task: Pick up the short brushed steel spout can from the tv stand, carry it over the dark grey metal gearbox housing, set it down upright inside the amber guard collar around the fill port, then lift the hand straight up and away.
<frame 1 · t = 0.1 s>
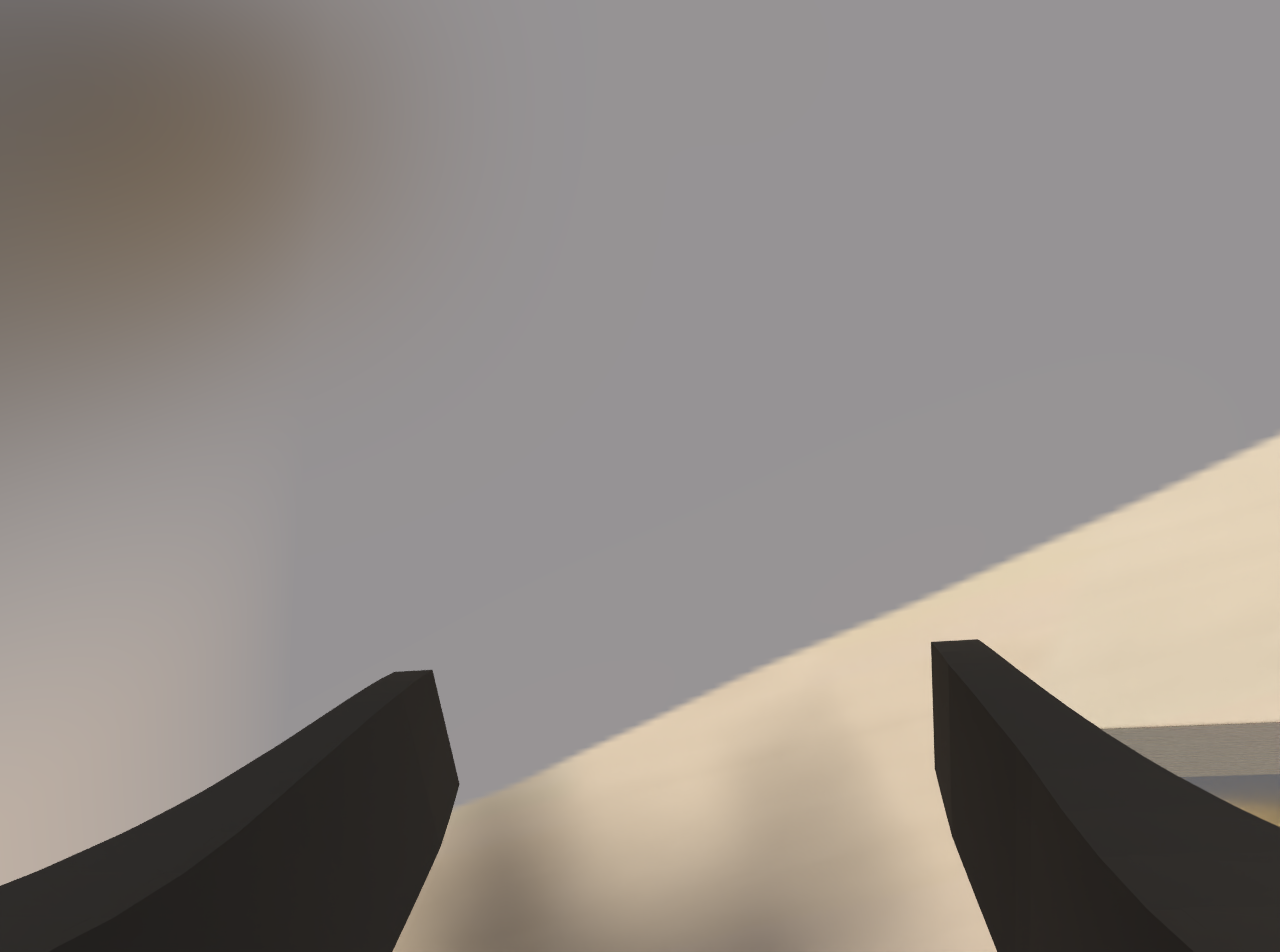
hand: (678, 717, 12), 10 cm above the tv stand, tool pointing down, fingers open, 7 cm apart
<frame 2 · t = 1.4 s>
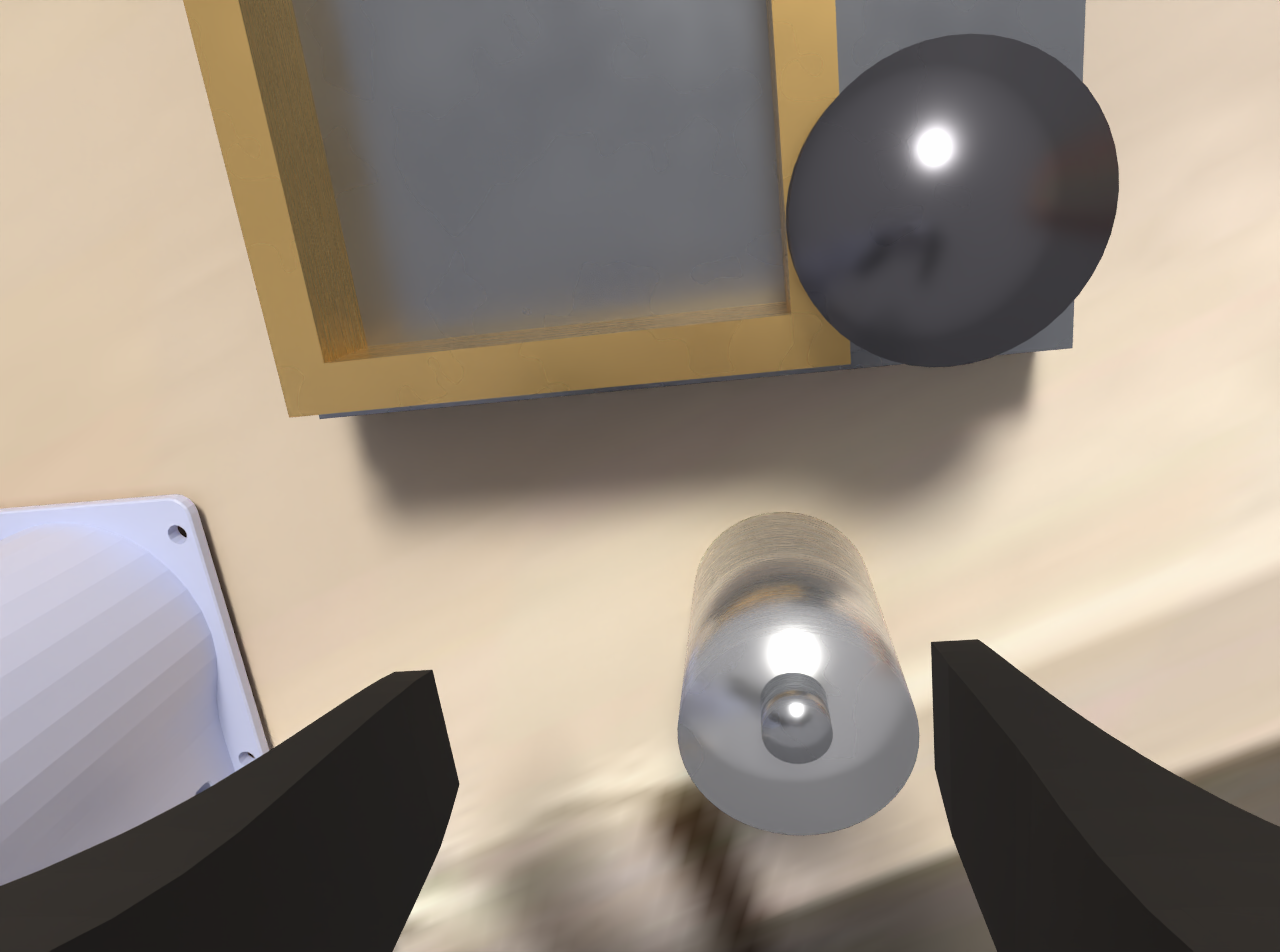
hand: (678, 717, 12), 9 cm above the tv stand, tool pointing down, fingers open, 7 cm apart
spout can: (781, 593, 21), on the tv stand
gearbox: (642, 38, 17), on the tv stand
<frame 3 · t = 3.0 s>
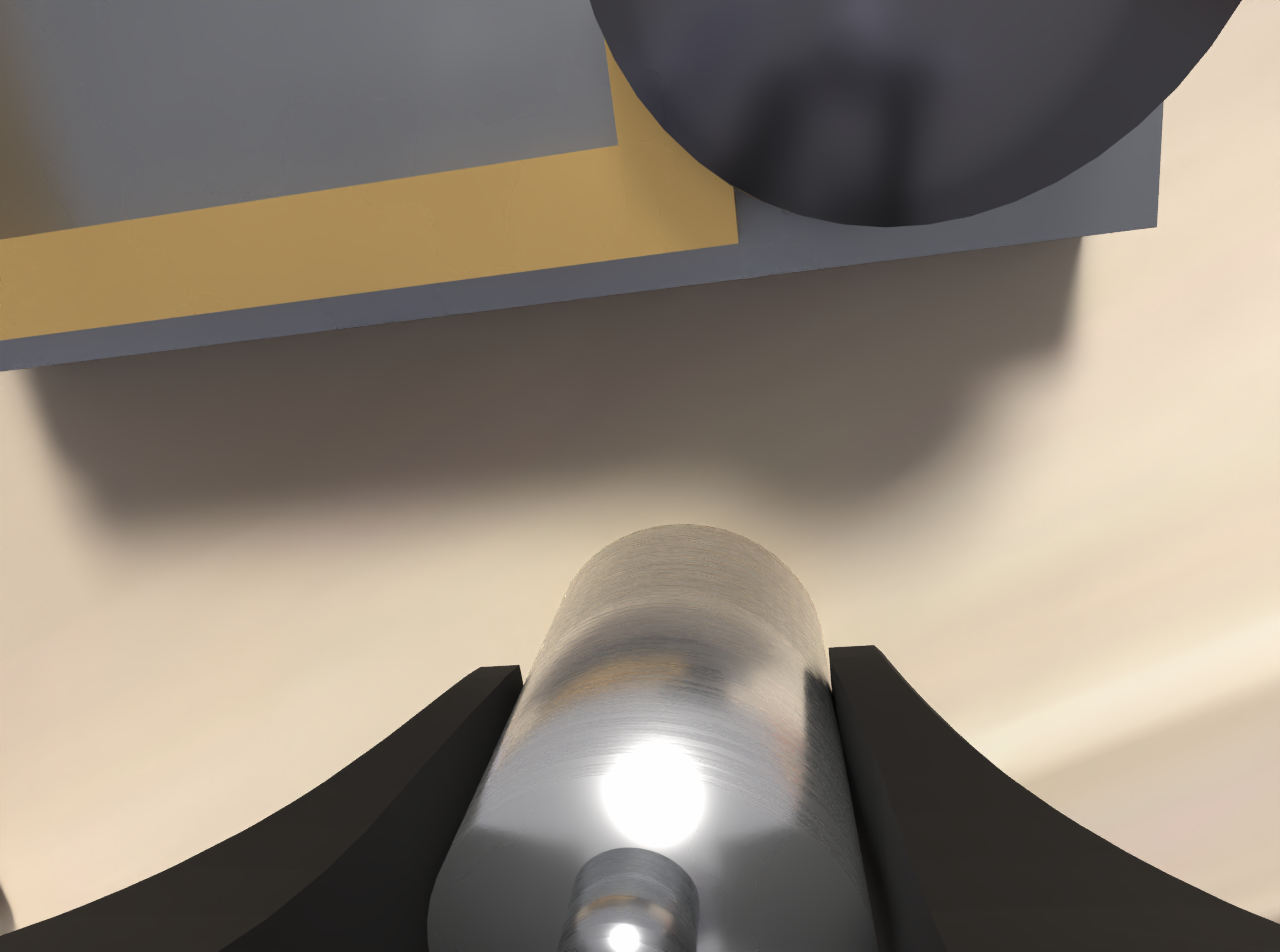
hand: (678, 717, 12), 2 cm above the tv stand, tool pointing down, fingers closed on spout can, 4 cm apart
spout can: (686, 648, 14), on the tv stand, touching gripper
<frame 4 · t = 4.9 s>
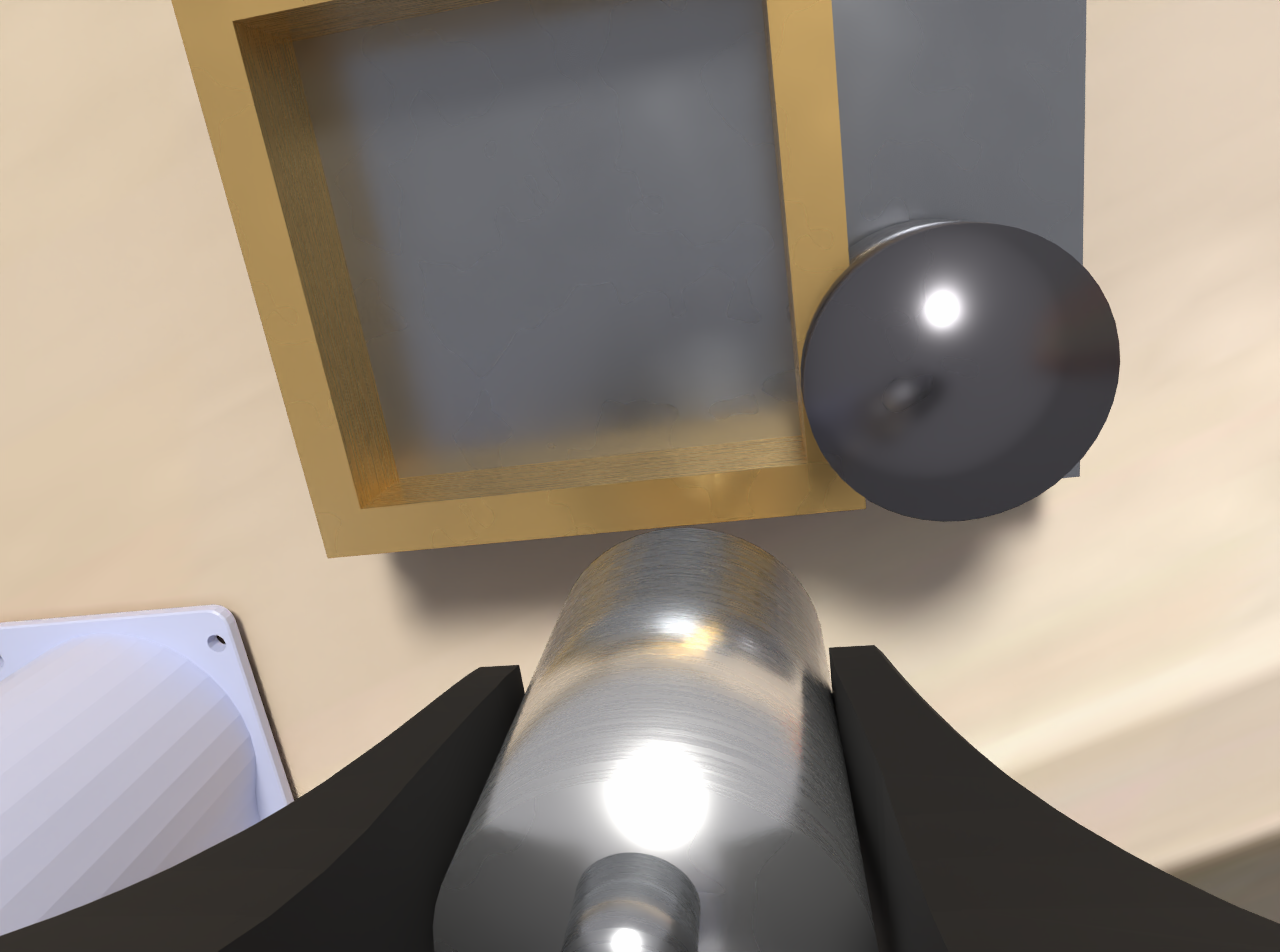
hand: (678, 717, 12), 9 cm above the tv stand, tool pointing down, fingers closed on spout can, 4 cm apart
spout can: (688, 650, 14), point 7 cm above the tv stand, touching gripper
gearbox: (656, 180, 18), on the tv stand
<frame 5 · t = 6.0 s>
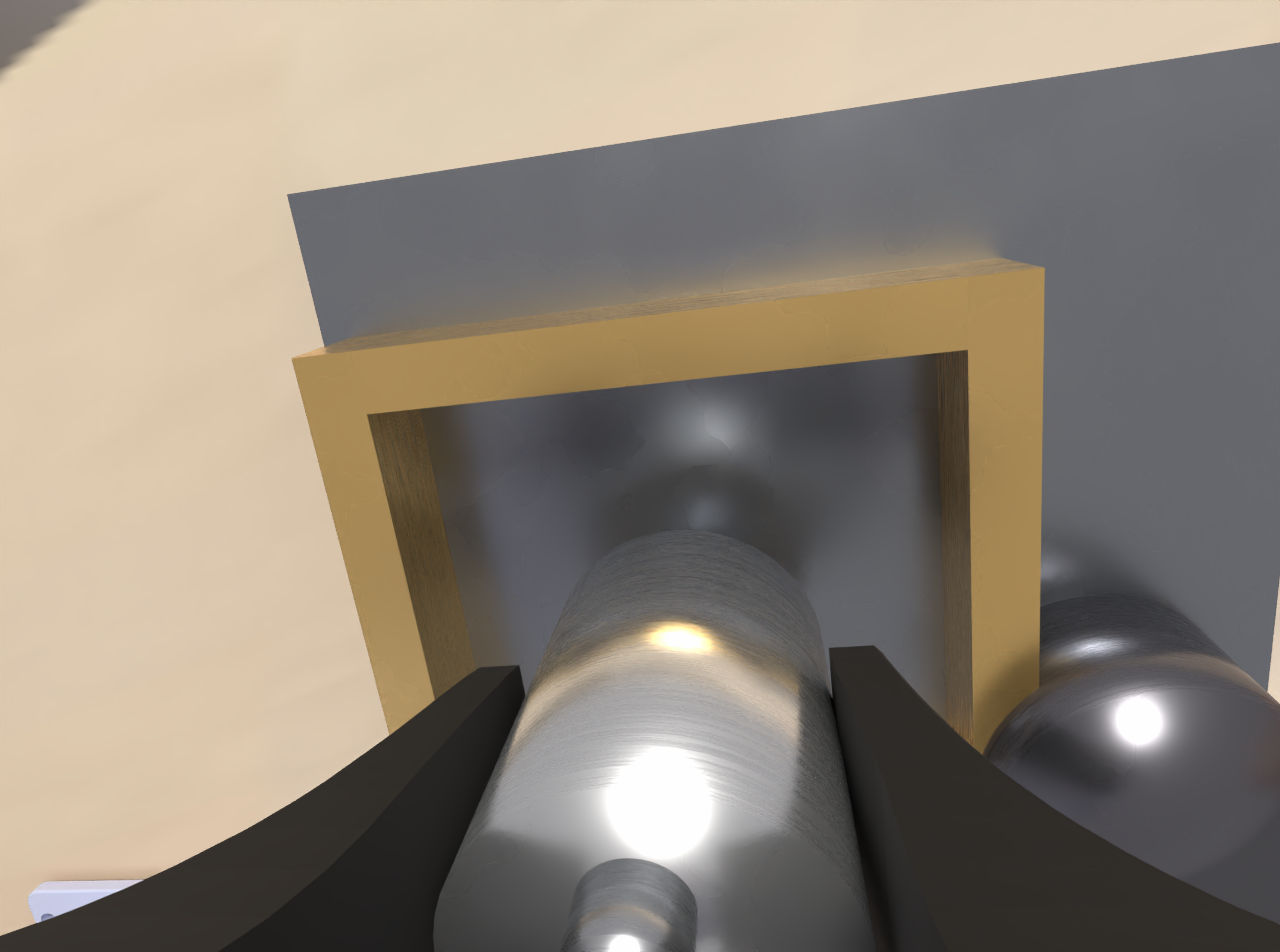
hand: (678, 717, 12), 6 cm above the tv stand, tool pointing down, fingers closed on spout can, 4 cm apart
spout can: (688, 652, 14), point 4 cm above the tv stand, touching gripper
gearbox: (790, 501, 17), on the tv stand
when the fingers open (5 cm above the tv stand, at t = 7.0 s): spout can stays where it is, resting on gearbox.
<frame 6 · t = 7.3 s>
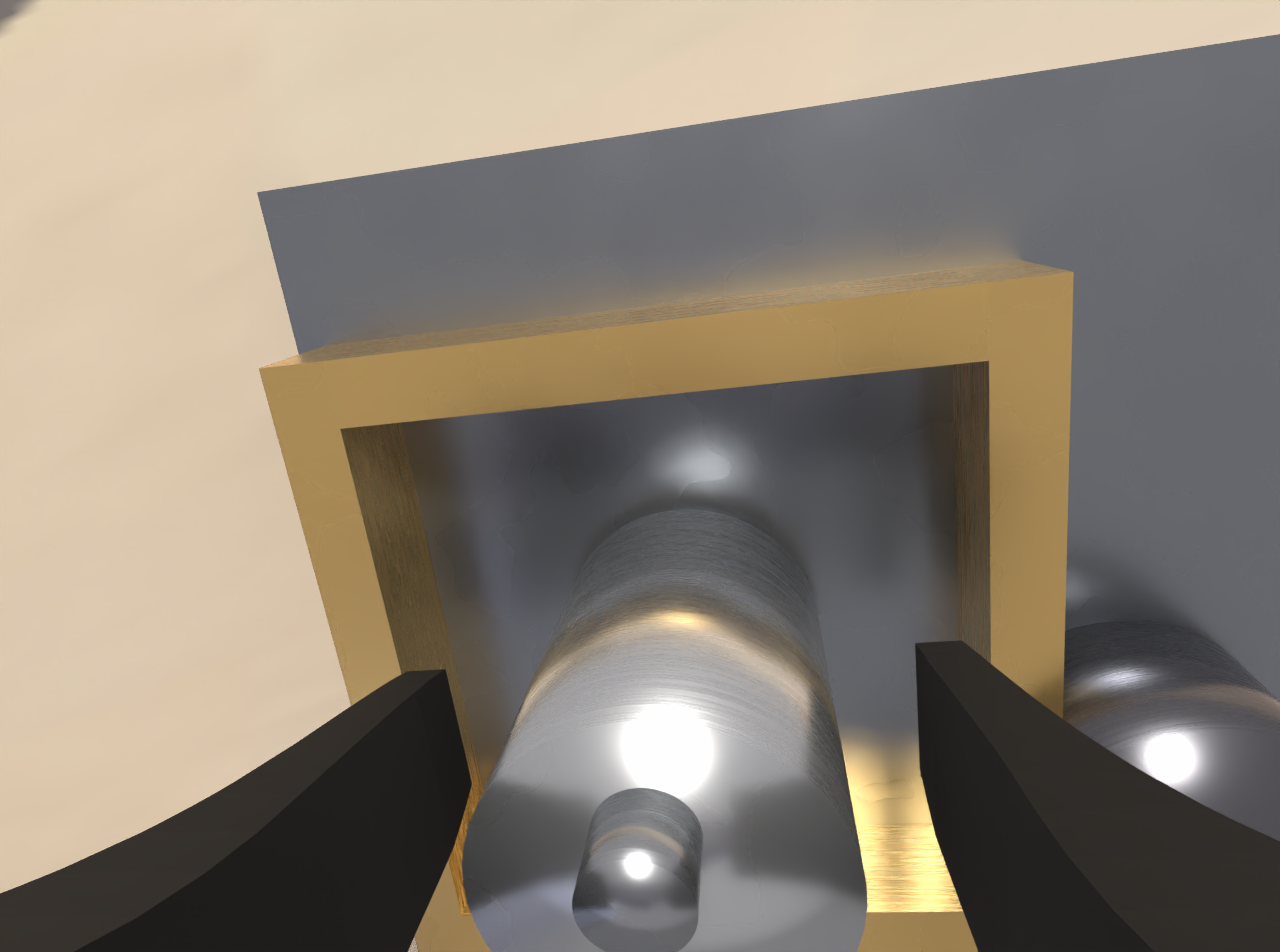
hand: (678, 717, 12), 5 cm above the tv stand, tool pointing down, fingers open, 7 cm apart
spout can: (691, 626, 15), point 2 cm above the tv stand, touching gearbox
gearbox: (795, 517, 16), on the tv stand
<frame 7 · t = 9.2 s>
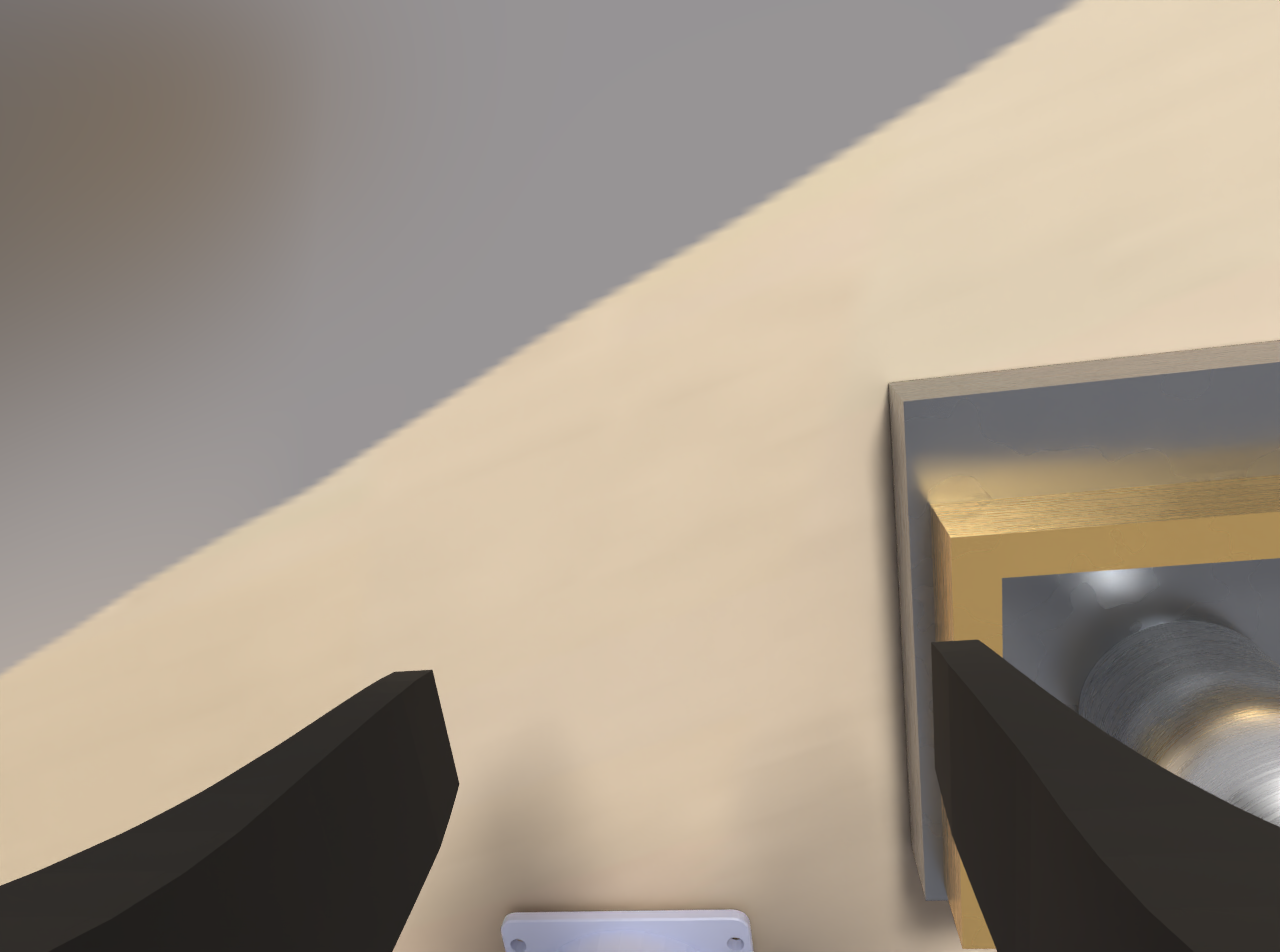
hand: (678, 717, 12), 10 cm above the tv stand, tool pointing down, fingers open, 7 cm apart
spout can: (1175, 703, 20), point 2 cm above the tv stand, touching gearbox
gearbox: (1224, 616, 21), on the tv stand
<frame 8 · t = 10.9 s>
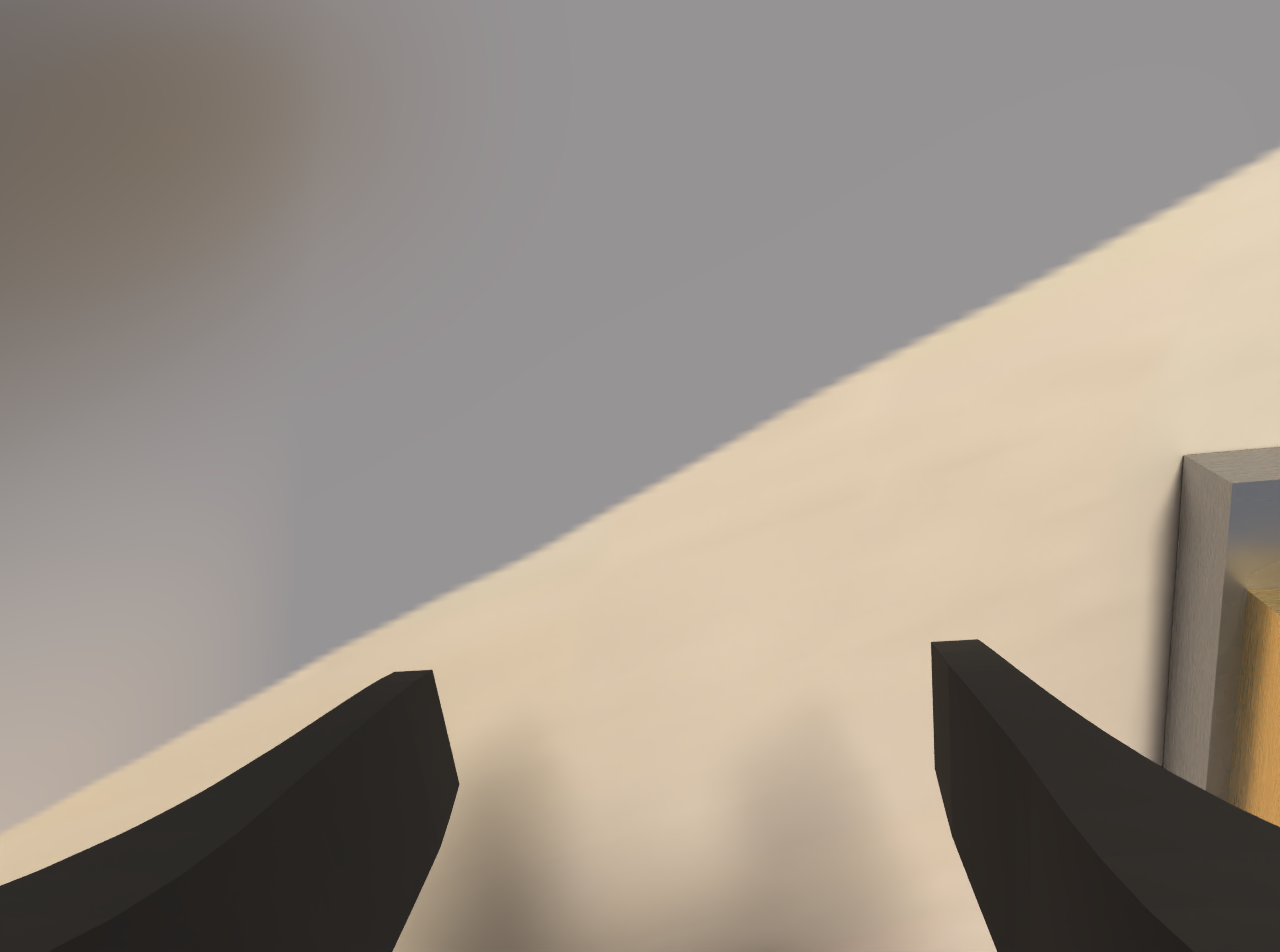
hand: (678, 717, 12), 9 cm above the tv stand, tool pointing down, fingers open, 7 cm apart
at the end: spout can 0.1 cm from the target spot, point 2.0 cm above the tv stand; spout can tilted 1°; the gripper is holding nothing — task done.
